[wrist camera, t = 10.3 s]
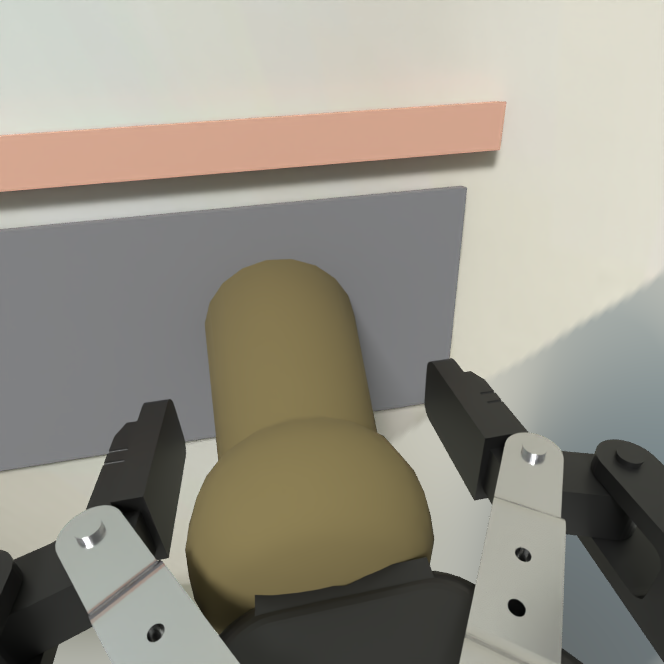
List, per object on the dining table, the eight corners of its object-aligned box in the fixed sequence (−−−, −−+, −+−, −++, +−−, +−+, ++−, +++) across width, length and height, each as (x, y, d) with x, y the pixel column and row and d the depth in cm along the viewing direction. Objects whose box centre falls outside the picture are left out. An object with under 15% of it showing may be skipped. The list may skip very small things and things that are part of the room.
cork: (314, 405, 19) (377, 702, 10) (182, 364, 17) (104, 696, 8) (381, 295, 17) (544, 540, 8) (240, 231, 15) (229, 467, 6)
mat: (462, 185, 16) (466, 187, 16) (441, 394, 21) (445, 400, 21) (-202, 248, 13) (-214, 252, 13) (-44, 471, 18) (-49, 478, 18)
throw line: (497, 101, 15) (506, 101, 14) (491, 148, 15) (499, 150, 15) (-311, 156, 12) (-336, 159, 11) (-270, 211, 12) (-292, 215, 12)
